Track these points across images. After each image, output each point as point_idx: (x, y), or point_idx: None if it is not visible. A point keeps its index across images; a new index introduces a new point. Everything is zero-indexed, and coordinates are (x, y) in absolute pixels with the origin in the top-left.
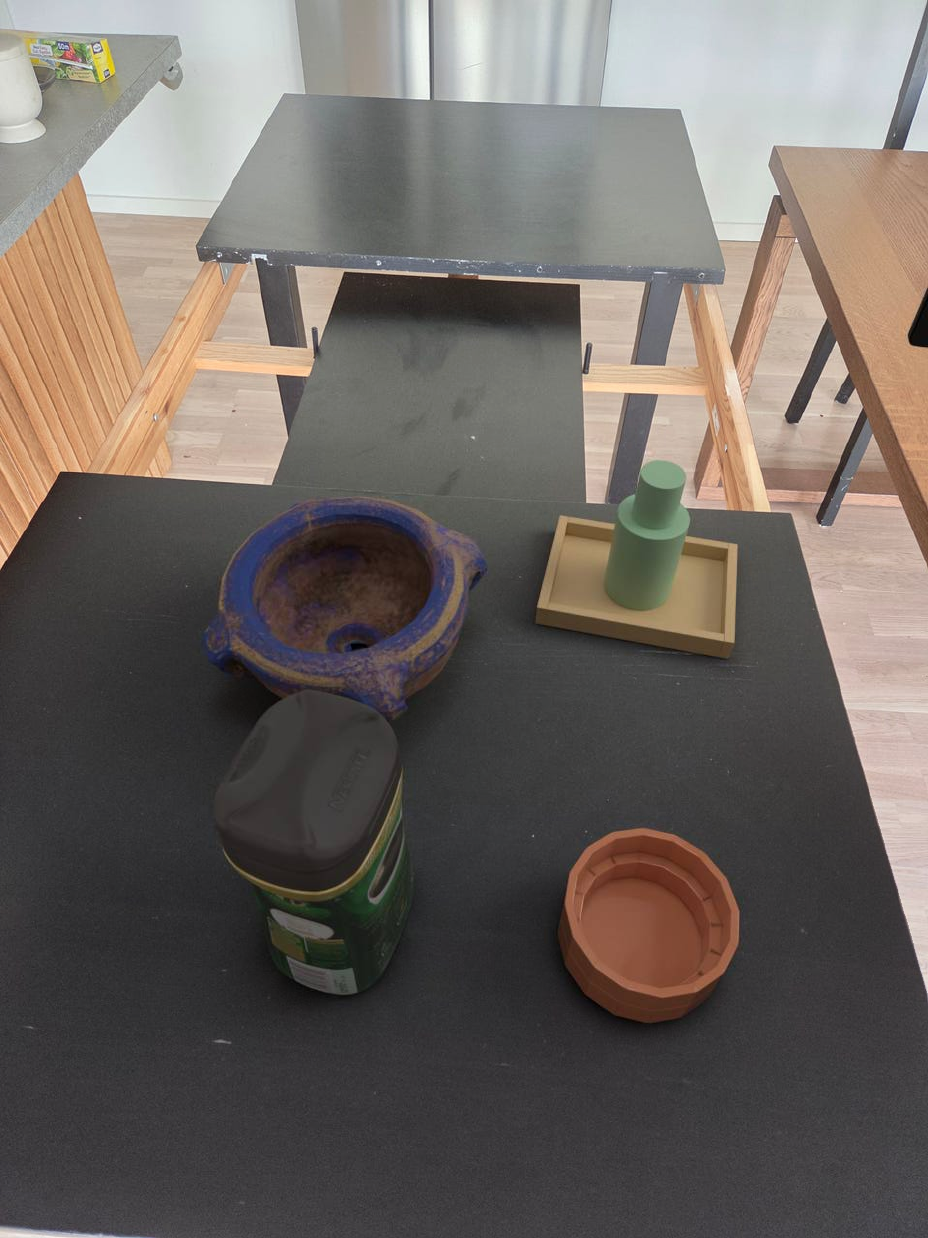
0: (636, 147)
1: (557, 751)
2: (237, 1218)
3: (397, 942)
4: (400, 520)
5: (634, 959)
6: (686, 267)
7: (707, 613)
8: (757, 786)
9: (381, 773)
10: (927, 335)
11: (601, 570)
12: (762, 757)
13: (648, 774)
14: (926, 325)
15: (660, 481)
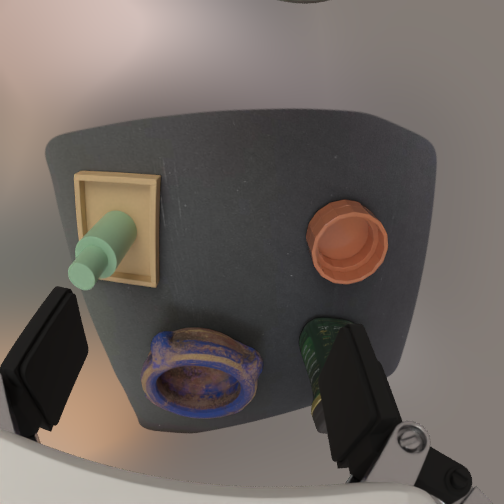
0: None
1: (242, 267)
2: (405, 336)
3: (341, 320)
4: (155, 379)
5: (351, 237)
6: None
7: (128, 188)
8: (253, 166)
9: None
10: (81, 351)
11: None
12: (232, 161)
13: (251, 223)
14: (77, 365)
15: (88, 279)
